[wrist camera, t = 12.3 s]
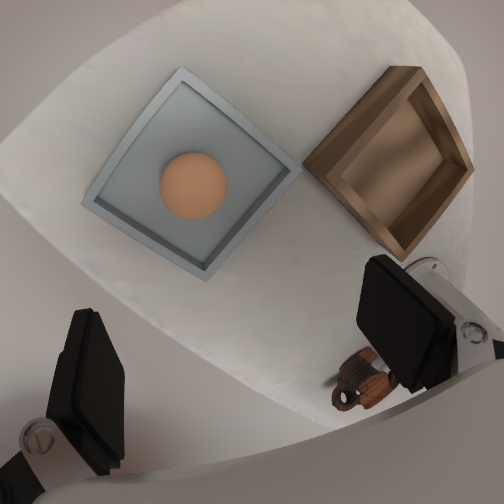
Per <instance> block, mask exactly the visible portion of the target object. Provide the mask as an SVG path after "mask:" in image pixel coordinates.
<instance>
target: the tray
mask: <svg viewBox="0 0 504 504" xmlns="http://www.w3.org/2000/svg"><path fill="white" fill-rule="evenodd" d="M186 153H202V154H206V155H208V156H210V157H212V158H213V159H215V160H216V161H217V162H218V163H219V164H220V165H221V167H222V168H223V170H224V172H225V175H226V178H227V192H226V196H225V199H224V201H223V203H222V204H221V206H220V207H219V208H218V209H217V210H216V211H215V212H214V213H213V214H211V215H209V216H207V217H205V218H202V219H197V220H189V219H184V218H181V217H179V216H177V215H175V214H173V213H172V212H171V211H170V210H169V209H168V208H167V207H166V205H165V204H164V202H163V200H162V197H161V193H160V180H161V177H162V174H163V172H164V170H165V168H166V167H167V165H168V164H169V163H170V162H171V161H172V160H173V159H175V158H176V157H178V156H180V155H183V154H186ZM302 171H303V169H302V168H301V167H300V166H299V165H298V164H297V163H296V162H295V161H294V160H293V159H292V158H291V157H290V156H289V155H287V154H286V153H285V152H284V151H283V150H282V149H281V148H280V147H279V146H278V145H277V144H275V143H274V142H273V141H272V140H271V139H270V138H269V137H268V136H267V135H265V134H264V133H263V132H262V131H261V130H260V129H259V128H258V127H256V126H255V125H254V124H253V123H252V122H251V121H249V120H248V119H247V118H246V117H245V116H244V115H242V114H241V113H240V112H239V111H238V110H237V109H235V108H234V107H233V106H232V105H231V104H229V103H228V102H227V101H226V100H225V99H223V98H222V97H221V96H220V95H218V94H217V93H216V92H215V91H213V90H212V89H211V88H210V87H208V86H207V85H206V84H205V83H203V82H202V81H201V80H200V79H198V78H197V77H196V76H194V75H193V74H192V73H190V72H189V71H188V70H187V69H185V68H184V67H183V66H181V67H180V68H179V69H178V70H177V71H176V72H175V74H174V75H173V76H172V77H171V78H170V79H169V80H168V82H167V83H166V84H165V85H164V86H163V87H162V89H161V90H160V91H159V92H158V93H157V95H156V96H155V97H154V98H153V100H152V101H151V102H150V103H149V105H148V106H147V107H146V108H145V110H144V111H143V112H142V113H141V115H140V116H139V117H138V119H137V120H136V121H135V123H134V124H133V125H132V127H131V128H130V129H129V131H128V132H127V133H126V135H125V136H124V138H123V139H122V140H121V142H120V143H119V145H118V146H117V148H116V149H115V150H114V152H113V153H112V155H111V156H110V158H109V159H108V161H107V162H106V164H105V165H104V167H103V168H102V170H101V171H100V173H99V175H98V176H97V178H96V179H95V181H94V182H93V184H92V186H91V187H90V189H89V191H88V192H87V194H86V196H85V197H84V199H83V201H82V202H81V205H82V206H84V207H85V208H87V209H88V210H90V211H91V212H93V213H94V214H96V215H98V216H99V217H101V218H102V219H104V220H105V221H107V222H108V223H110V224H112V225H113V226H115V227H116V228H118V229H119V230H121V231H123V232H124V233H126V234H127V235H129V236H131V237H132V238H134V239H135V240H137V241H139V242H140V243H142V244H143V245H145V246H147V247H148V248H150V249H152V250H153V251H155V252H156V253H158V254H160V255H161V256H163V257H165V258H166V259H168V260H170V261H171V262H173V263H175V264H176V265H178V266H180V267H181V268H183V269H185V270H186V271H188V272H190V273H191V274H193V275H195V276H197V277H198V278H200V279H202V280H203V281H205V282H207V281H208V280H209V278H210V277H211V276H212V275H213V274H214V273H215V271H216V270H217V269H218V268H219V267H220V266H221V264H222V263H223V262H224V261H225V260H226V259H227V257H228V256H229V255H230V254H231V253H232V252H233V250H234V249H235V248H236V247H237V246H238V245H239V243H240V242H241V241H242V240H243V239H244V238H245V237H246V235H247V234H248V233H249V232H250V231H251V230H252V228H253V227H254V226H255V225H256V224H257V223H258V222H259V220H260V219H261V218H262V217H263V216H264V215H265V214H266V212H267V211H268V210H269V209H270V208H271V207H272V205H273V204H274V203H275V202H276V201H277V200H278V199H279V197H280V196H281V195H282V194H283V193H284V192H285V191H286V189H287V188H288V187H289V186H290V185H291V184H292V183H293V182H294V180H295V179H296V178H297V177H298V176H299V175H300V174H301V172H302Z"/></svg>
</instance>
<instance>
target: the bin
mask: <svg viewBox="0 0 504 504" xmlns="http://www.w3.org/2000/svg"><path fill="white" fill-rule="evenodd" d="M302 164H303V165H304V166H305V167H306V168H307V169H308V170H309V171H310V172H311V173H312V174H313V175H314V176H315V177H316V178H317V179H318V180H319V181H320V182H321V183H322V184H323V185H324V186H325V187H326V188H327V189H328V190H329V191H330V192H331V193H332V194H333V195H334V196H335V197H336V198H337V199H338V200H339V201H340V202H341V203H342V204H343V205H344V206H345V208H346V209H347V210H348V211H349V212H350V213H351V214H352V215H353V216H354V217H355V218H356V219H357V220H358V221H359V222H360V223H361V225H362V226H363V227H364V228H365V229H366V230H367V231H368V232H369V233H370V234H371V236H372V237H373V238H374V239H375V240H376V241H377V242H378V243H379V244H380V245H381V246H382V247H383V248H385V249H386V250H387V251H388V252H390V253H391V254H392V255H393V256H394V257H396V258H397V259H398V260H399V261H400V262H401V263H402V262H403V261H404V260H405V259H406V258H407V257H408V255H409V254H410V253H411V252H412V251H413V250H414V248H415V247H416V246H417V245H418V244H419V242H420V241H421V240H422V239H423V238H424V236H425V235H426V234H427V233H428V231H429V230H430V229H431V228H432V226H433V225H434V224H435V223H436V221H437V220H438V219H439V218H440V216H441V215H442V214H443V212H444V211H445V210H446V209H447V207H448V206H449V205H450V203H451V202H452V201H453V199H454V198H455V197H456V195H457V194H458V192H459V191H460V190H461V188H462V187H463V186H464V184H465V183H466V181H467V180H468V179H469V177H470V176H471V174H472V173H473V171H474V167H473V165H472V162H471V160H470V158H469V155H468V153H467V151H466V148H465V146H464V144H463V142H462V140H461V138H460V135H459V133H458V131H457V129H456V127H455V125H454V123H453V121H452V119H451V117H450V115H449V113H448V112H447V110H446V108H445V106H444V104H443V102H442V100H441V99H440V97H439V95H438V93H437V92H436V90H435V88H434V86H433V85H432V83H431V81H430V80H429V78H428V76H427V75H426V73H425V72H424V70H423V68H422V67H416V66H390V67H389V68H388V69H387V70H386V72H385V73H384V74H383V75H382V76H381V77H380V78H379V79H378V80H377V81H376V82H375V84H374V85H373V86H372V87H371V88H370V89H369V90H368V91H367V92H366V93H365V94H364V96H363V97H362V98H361V99H360V100H359V101H358V102H357V103H356V104H355V105H354V106H353V108H352V109H351V110H350V111H349V112H348V113H347V114H346V115H345V116H344V118H343V119H342V120H341V121H340V122H339V123H338V124H337V125H336V126H335V128H334V129H333V130H332V131H331V132H330V133H329V134H328V135H327V136H326V138H325V139H324V140H323V141H322V142H321V143H320V144H319V145H318V147H317V148H316V149H315V150H314V151H313V152H312V153H311V154H310V156H309V157H308V158H307V159H306V160H305V161H304V162H303V163H302Z"/></svg>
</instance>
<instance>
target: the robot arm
mask: <svg viewBox="0 0 504 504" xmlns="http://www.w3.org/2000/svg"><path fill="white" fill-rule="evenodd" d="M448 277H449V276H448V270H447V268H446V266H445V265H444V264H443V263H442V262H441V261H439V260H438V259H435V258H427V259H423V260H420V261H418V262H416V263H414V264H413V265H411V266H410V267H409V268H407V269H406V270H404V269H402V268H401V267H400V266H399V265H398V264H397V263H395V262H394V261H393V260H392V259H391V258H390V257H388V256H387V255H386V254H382V255H378V256H373V257H371V258H370V259H369V262H367V263H366V265H365V271H364V278H363V284H362V290H361V295H360V301H359V306H358V312H357V317H356V322H357V325H358V327H359V328H360V330H361V331H362V332H363V334H364V335H365V336H366V338H367V339H368V340H369V342H370V343H371V344H372V346H373V347H374V348H375V350H376V351H377V352H378V354H379V355H380V356H381V358H382V359H383V360H384V362H385V363H386V365H387V366H388V367H389V369H390V370H391V371H392V373H393V374H394V375H395V377H396V378H397V380H398V381H399V382H400V384H401V385H402V386H403V387H404V388H407V389H408V390H409V391H410V393H411V394H413V393H415V392H417V391H419V390H421V389H423V387H425V388H426V389H427V391H425V392H423V393H421V394H419V395H417V396H415V397H413V398H411V399H409V400H407V401H405V402H403V403H401V404H399V405H396V406H394V407H392V408H390V409H387V410H385V411H383V412H381V413H378V414H376V415H374V416H371V417H369V418H366V419H364V420H361V421H359V422H356V423H354V424H351V425H349V426H346V427H343V428H341V429H338V430H335V431H332V432H329V433H326V434H324V435H321V436H318V437H315V438H311V439H308V440H305V441H302V442H299V443H296V444H292V445H288V446H285V447H282V448H278V449H274V450H270V451H266V452H262V453H258V454H254V455H250V456H245V457H241V458H236V459H232V460H226V461H221V462H216V463H210V464H204V465H198V466H191V467H184V468H176V469H169V470H160V471H151V472H140V473H127V474H116V475H110V469H113V468H120V460H123V459H124V456H125V453H124V384H125V373H124V369H123V366H122V364H121V362H120V360H119V358H118V355H117V353H116V351H115V349H114V347H113V345H112V342H111V340H110V338H109V336H108V333H107V331H106V329H105V326H104V324H103V322H102V319H101V317H100V315H99V313H98V312H94V311H93V310H92V309H91V308H88V309H81V310H76V311H75V312H74V314H73V318H72V321H71V325H70V328H69V332H68V335H67V339H66V342H65V346H64V350H63V352H61V353H60V355H59V358H58V361H57V365H56V369H55V373H54V378H53V382H52V387H51V391H50V396H49V401H48V406H47V412H46V417H45V418H44V417H39V418H34V419H32V420H31V421H29V422H28V423H27V424H26V425H25V426H24V427H23V428H22V430H21V432H20V436H19V446H20V449H21V451H20V452H18V453H17V454H16V455H15V456H14V457H13V458H11V459H10V460H9V461H8V462H7V463H6V464H4V465H3V466H2V467H1V468H0V504H504V331H503V330H502V329H501V328H500V327H498V325H496V324H495V323H494V322H493V321H492V320H491V319H490V318H489V317H488V316H487V315H486V314H485V313H484V312H482V311H481V310H480V309H479V308H478V307H477V306H476V305H475V304H474V303H472V302H471V301H470V300H469V299H468V298H467V297H465V296H464V295H463V294H462V293H461V292H460V291H459V290H458V289H456V288H455V287H454V286H453V285H452V284H450V283H449V282H448Z"/></svg>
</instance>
